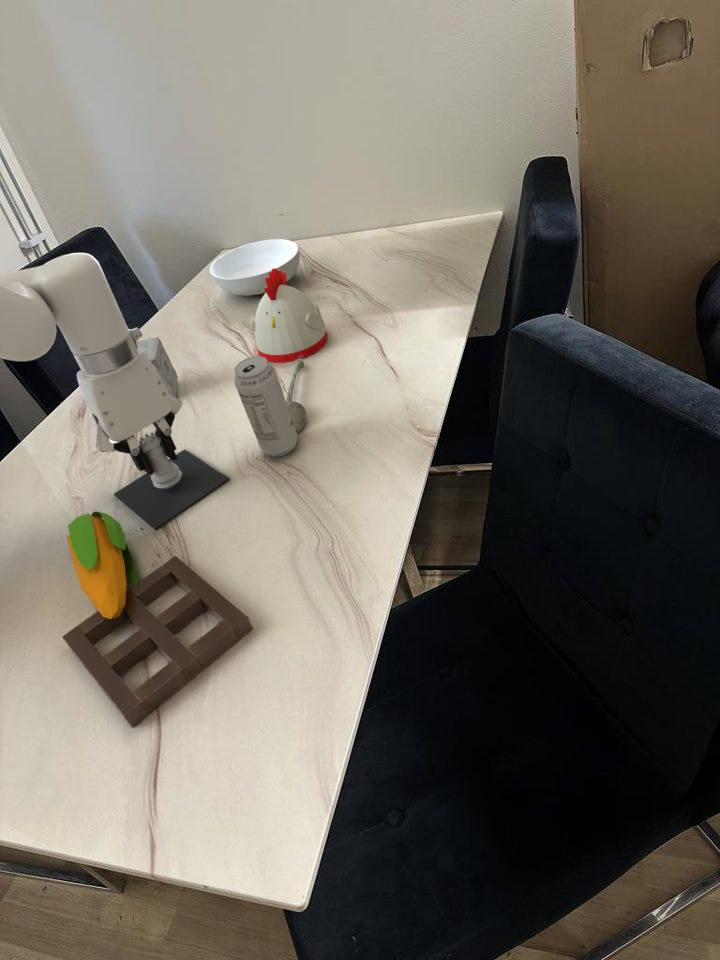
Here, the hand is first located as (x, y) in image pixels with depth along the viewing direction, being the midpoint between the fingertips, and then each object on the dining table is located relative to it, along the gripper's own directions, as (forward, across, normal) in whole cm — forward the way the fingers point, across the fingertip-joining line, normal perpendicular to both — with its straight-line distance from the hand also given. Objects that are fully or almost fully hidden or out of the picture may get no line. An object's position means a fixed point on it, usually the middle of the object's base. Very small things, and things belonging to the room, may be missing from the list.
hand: (159, 462), depth 97 cm
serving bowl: (+5, -54, -48) cm, 73 cm away
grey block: (+5, -12, -27) cm, 30 cm away
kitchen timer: (+5, -39, -18) cm, 43 cm away
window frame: (+5, +16, +24) cm, 29 cm away
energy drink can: (+5, -16, +7) cm, 18 cm away
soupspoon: (+5, -26, -2) cm, 27 cm away
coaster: (+5, 0, 0) cm, 5 cm away
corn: (+5, +15, +11) cm, 19 cm away
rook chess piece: (+4, 0, 0) cm, 4 cm away
